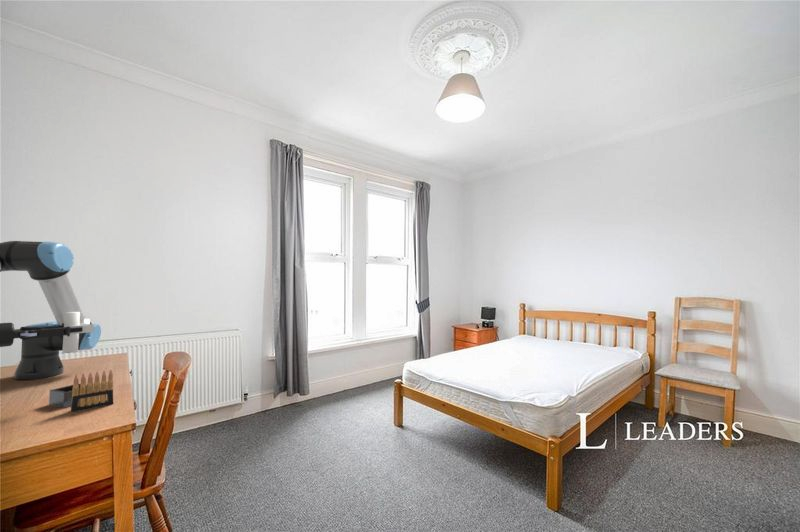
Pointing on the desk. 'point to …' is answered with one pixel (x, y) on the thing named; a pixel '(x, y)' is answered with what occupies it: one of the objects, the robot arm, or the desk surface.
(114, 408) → the desk surface
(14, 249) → the robot arm
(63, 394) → the square open box
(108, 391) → the ammunition clip
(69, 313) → the cylinder
